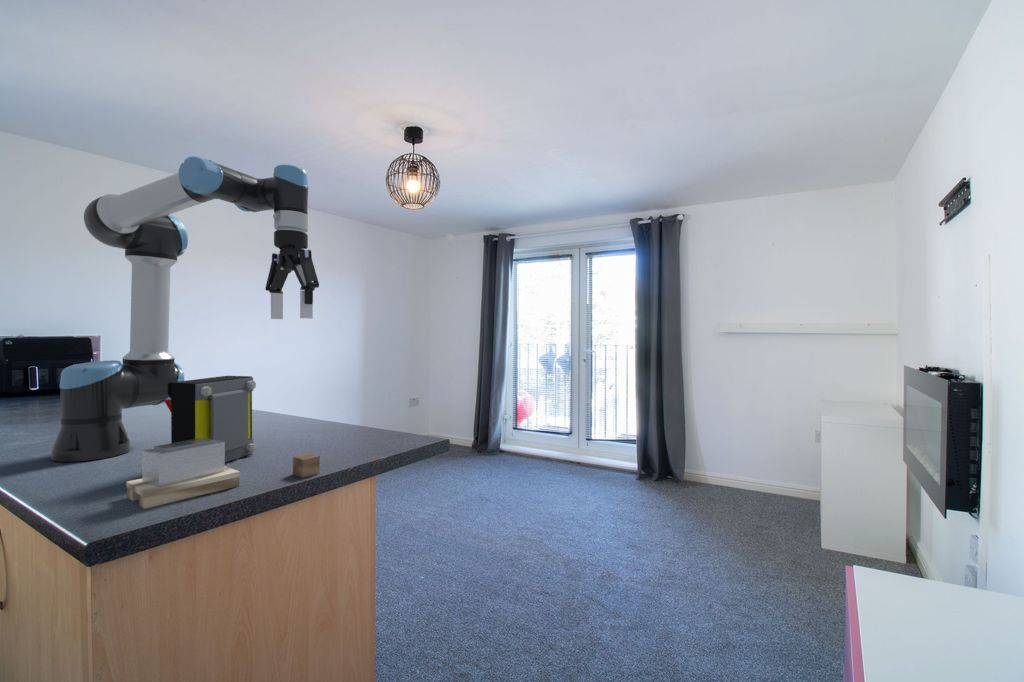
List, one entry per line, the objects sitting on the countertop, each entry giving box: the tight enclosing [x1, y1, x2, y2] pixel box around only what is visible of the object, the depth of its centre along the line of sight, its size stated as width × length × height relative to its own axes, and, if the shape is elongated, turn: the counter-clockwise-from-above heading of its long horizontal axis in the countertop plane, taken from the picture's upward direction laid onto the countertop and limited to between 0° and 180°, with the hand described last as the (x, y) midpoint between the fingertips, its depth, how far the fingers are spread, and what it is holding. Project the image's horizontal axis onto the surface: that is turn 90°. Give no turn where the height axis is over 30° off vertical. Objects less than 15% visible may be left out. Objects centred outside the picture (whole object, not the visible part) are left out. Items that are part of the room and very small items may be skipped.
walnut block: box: [292, 452, 321, 478], centre depth 107 cm, size 4×4×4 cm
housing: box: [141, 438, 226, 487], centre depth 94 cm, size 12×6×7 cm, turn 152°
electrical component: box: [165, 375, 257, 463], centre depth 116 cm, size 18×10×20 cm, turn 168°
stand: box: [126, 465, 241, 510], centre depth 94 cm, size 10×16×3 cm, turn 144°
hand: (291, 318), depth 117 cm, fingers open, 13 cm apart
